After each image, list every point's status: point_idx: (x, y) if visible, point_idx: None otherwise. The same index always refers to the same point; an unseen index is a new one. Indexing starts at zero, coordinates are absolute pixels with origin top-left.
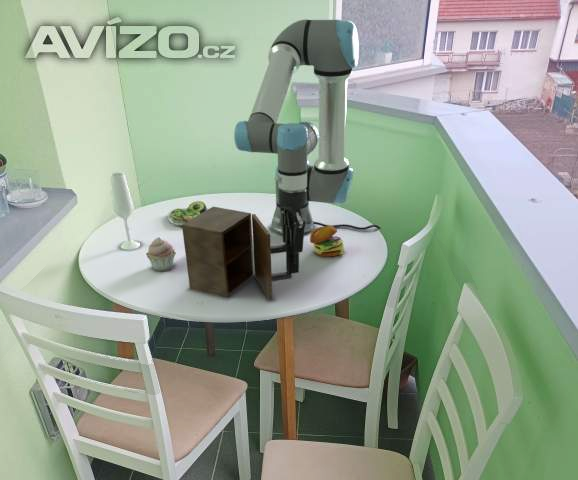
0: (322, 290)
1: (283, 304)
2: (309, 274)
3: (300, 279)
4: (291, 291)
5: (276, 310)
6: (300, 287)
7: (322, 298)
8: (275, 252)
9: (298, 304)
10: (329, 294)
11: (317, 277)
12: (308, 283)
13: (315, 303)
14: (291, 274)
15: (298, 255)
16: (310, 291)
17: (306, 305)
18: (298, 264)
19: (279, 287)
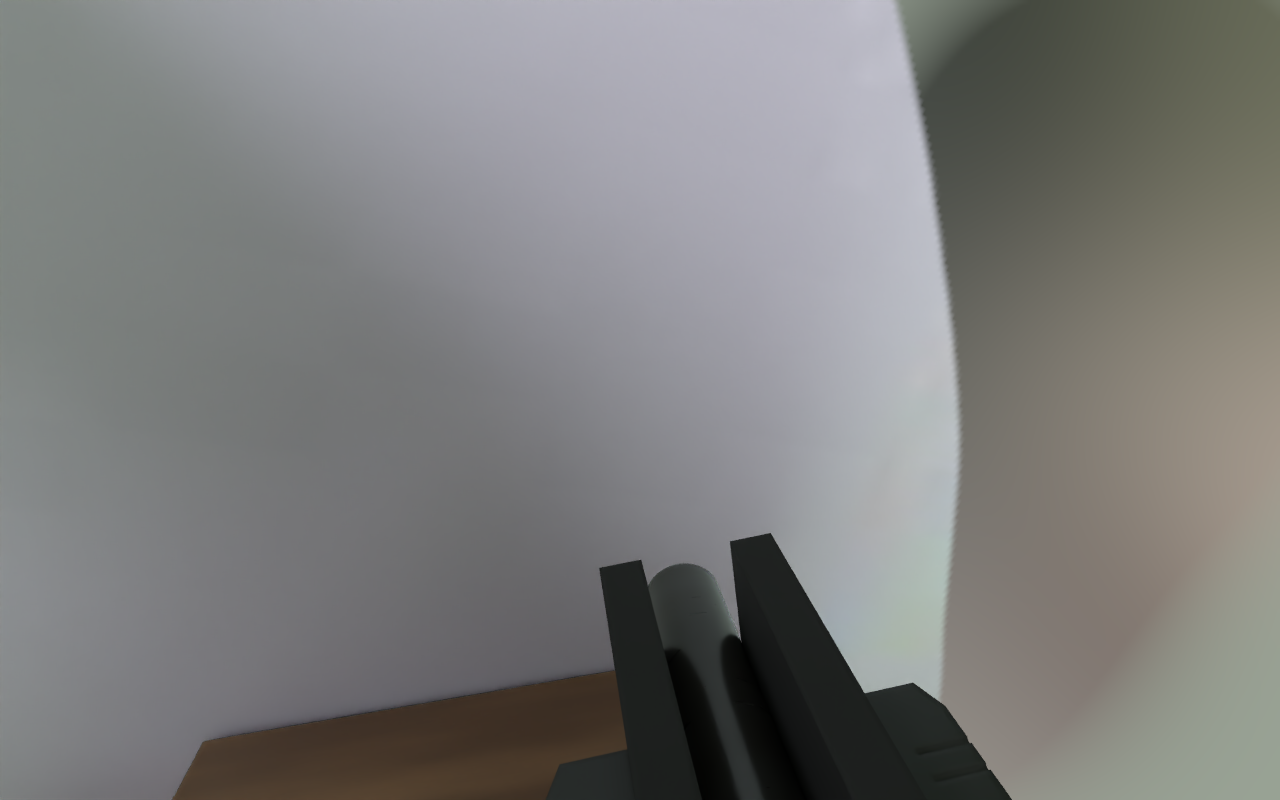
0: (674, 100)
1: (848, 563)
2: (163, 154)
3: (319, 310)
4: (613, 460)
5: (925, 625)
6: (539, 351)
7: (864, 158)
8: None
9: (896, 436)
10: (799, 37)
11: (274, 59)
12: (448, 233)
13: (939, 266)
14: (723, 606)
15: (910, 781)
16: (663, 257)
17: (942, 366)
18: (823, 627)
19: (497, 562)
